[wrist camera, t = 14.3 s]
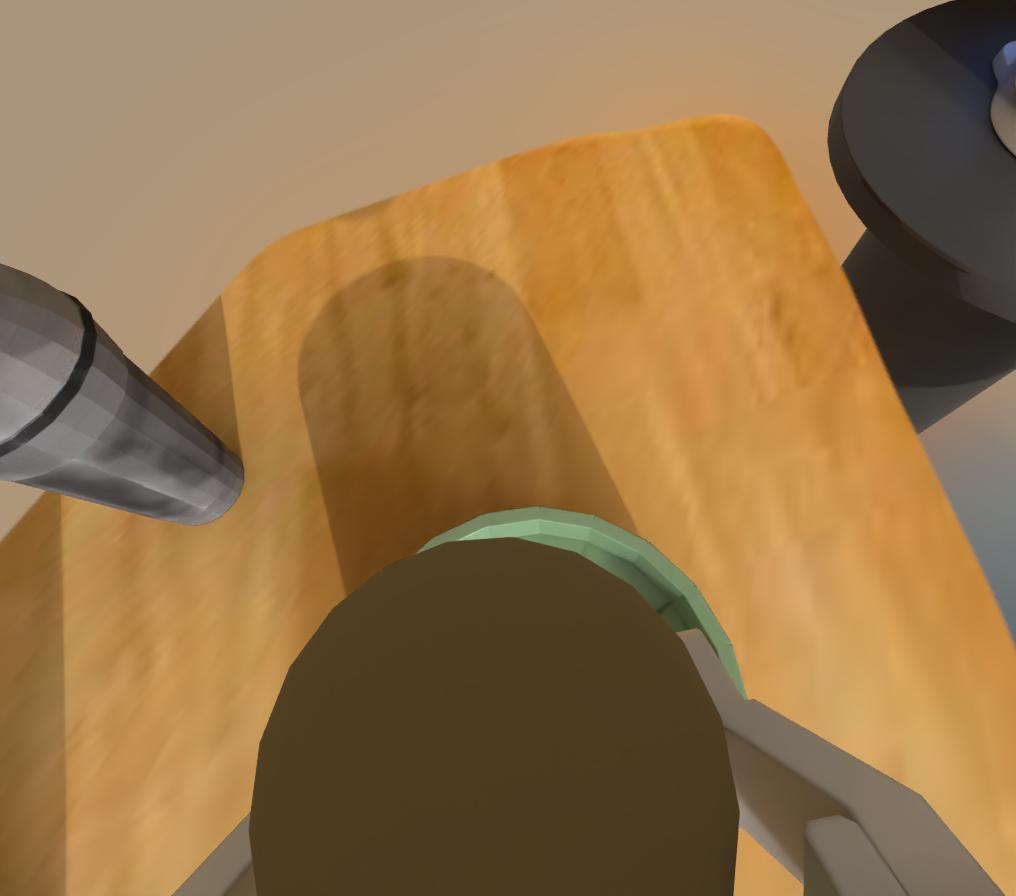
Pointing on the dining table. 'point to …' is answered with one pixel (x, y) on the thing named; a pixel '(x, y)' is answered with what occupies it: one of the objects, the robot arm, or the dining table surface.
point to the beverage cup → (98, 416)
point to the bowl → (610, 565)
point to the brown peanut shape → (494, 740)
